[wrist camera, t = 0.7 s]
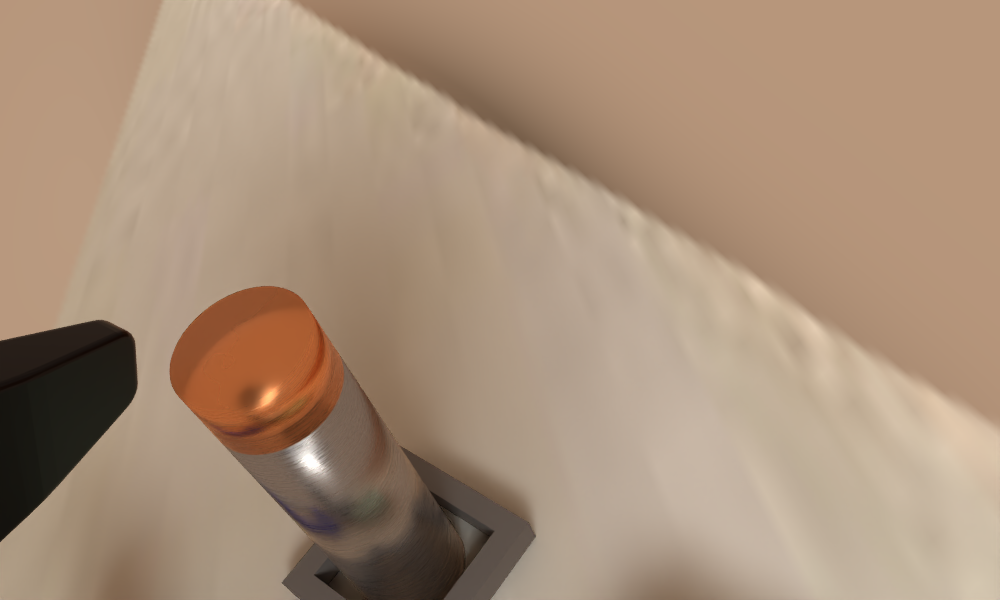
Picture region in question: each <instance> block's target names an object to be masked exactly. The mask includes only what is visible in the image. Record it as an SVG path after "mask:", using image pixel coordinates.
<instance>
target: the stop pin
mask: <svg viewBox="0 0 1000 600" xmlns="http://www.w3.org/2000/svg"><path fill="white" fill-rule="evenodd" d="M170 380H171V384H172V387H173V389H174V391H175V393H176V394H177V395H178V396H179V398H180V399H181V400H182V401H183V402H184V403H185V404H186V405H187V406H188V407H189V408H190V409H191V410H192V412H193V413H194V414H195V415H196V416H197V417H198V418H199V419H200V420H201V421H202V422H203V423H204V424H205V426H206V427H207V428H208V429H209V430H210V431H211V432H212V433H213V434H214V435H215V436H216V437H217V438H218V440H219V441H220V442H221V443H222V444H223V445H224V446H225V447H226V448H227V449H228V450H229V451H230V452H231V454H232V455H233V456H234V457H235V458H236V459H237V460H238V461H239V462H240V463H241V464H242V465H243V466H244V468H245V469H246V470H247V471H248V472H249V473H250V474H251V475H252V476H253V477H254V478H255V479H256V480H257V482H258V483H259V484H260V485H261V486H262V487H263V488H264V489H265V490H266V491H267V492H268V493H269V494H270V496H271V497H272V498H273V499H274V500H275V501H276V502H277V503H278V504H279V505H280V506H281V507H282V508H283V510H284V511H285V512H286V513H287V514H288V515H289V516H290V517H291V518H292V519H293V520H294V521H295V522H296V524H297V525H298V526H299V527H300V528H301V529H302V530H303V531H304V532H305V533H306V534H307V535H308V536H309V538H310V539H311V540H312V541H313V542H314V543H315V544H316V545H317V546H318V547H319V548H320V549H321V550H322V552H323V553H324V554H325V555H326V556H327V557H328V558H329V559H330V560H331V561H332V562H333V563H334V564H335V566H336V567H337V568H338V569H339V570H340V571H341V572H342V573H343V574H344V575H345V576H346V577H347V578H348V580H349V581H350V582H351V583H352V584H353V585H354V586H355V587H356V588H357V589H358V590H359V591H360V592H361V594H362V595H363V596H364V597H365V598H366V599H367V600H444V598H445V597H446V596H447V594H448V593H449V592H450V590H451V589H452V588H453V586H454V585H455V584H456V582H457V581H458V580H459V578H460V577H461V576H462V574H463V571H464V567H465V551H464V547H463V543H462V541H461V539H460V537H459V535H458V534H457V532H456V531H455V529H454V527H453V526H452V524H451V523H450V521H449V520H448V518H447V517H446V515H445V514H444V512H443V511H442V509H441V508H440V506H439V505H438V503H437V502H436V500H435V499H434V497H433V496H432V494H431V493H430V491H429V490H428V488H427V487H426V485H425V484H424V482H423V481H422V479H421V478H420V476H419V475H418V473H417V471H416V470H415V468H414V467H413V465H412V464H411V462H410V461H409V459H408V458H407V456H406V455H405V453H404V452H403V450H402V449H401V447H400V446H399V444H398V443H397V441H396V440H395V438H394V437H393V435H392V434H391V432H390V431H389V429H388V428H387V426H386V425H385V423H384V422H383V420H382V419H381V417H380V415H379V414H378V412H377V411H376V409H375V408H374V406H373V405H372V403H371V402H370V400H369V399H368V397H367V396H366V394H365V393H364V391H363V390H362V388H361V387H360V385H359V384H358V382H357V381H356V379H355V378H354V376H353V375H352V373H351V372H350V370H349V369H348V367H347V366H346V364H345V363H344V361H343V359H342V358H341V356H340V355H339V353H338V352H337V350H336V349H335V347H334V346H333V344H332V343H331V341H330V340H329V338H328V337H327V335H326V334H325V332H324V331H323V329H322V328H321V326H320V325H319V323H318V322H317V320H316V319H315V317H314V316H313V314H312V313H311V311H310V310H309V308H308V307H307V305H306V304H305V302H304V301H303V300H302V299H301V298H300V297H299V296H298V295H297V294H295V293H293V292H292V291H289V290H287V289H284V288H280V287H272V286H261V287H254V288H249V289H245V290H242V291H239V292H236V293H234V294H231V295H229V296H227V297H225V298H223V299H221V300H219V301H218V302H216V303H215V304H213V305H212V306H210V307H209V308H208V309H206V310H205V311H204V312H202V313H201V314H200V315H199V316H198V317H197V318H196V319H195V320H194V321H193V322H192V323H191V324H190V325H189V327H188V328H187V329H186V330H185V332H184V333H183V335H182V336H181V338H180V339H179V341H178V343H177V345H176V347H175V349H174V352H173V355H172V358H171V363H170Z"/></svg>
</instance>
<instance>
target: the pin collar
mask: <svg viewBox="0 0 1000 600" xmlns="http://www.w3.org/2000/svg"><path fill="white" fill-rule="evenodd" d="M400 447H401V446H400ZM401 449H402V450H403V452H404V453H405V455H406V456H407V458H408V459H409V461H410V462H411V464H412V465H413V467H414V468H415V470H416V471H417V473H418V475H419V476H420V478H421V479H422V481H423V482H424V484H425V485H426V487H427V488H428V490H429V491H430V493H431V494H432V496H433V497H434V499H435V500H436V502H437V503H438V504H439V505H441V506H442V507H444V508H446V509H447V510H449V511H450V512H452V513H454V514H455V515H457V516H458V517H460V518H462V519H463V520H465V521H466V522H468V523H470V524H471V525H473V526H474V527H476V528H478V529H479V530H481V531H482V532H484V533H486V534H487V535H489V536H490V538H489V539H488V540H487V542H486V543H485V545H484V546H483V547H482V549H481V550H480V551H479V553H478V554H477V555H476V557H475V558H474V559H473V561H472V562H471V563H470V565H469V566H468V567H467V569H466V570H465V572H464V573H463V574H462V576H461V577H460V578H459V580H458V581H457V582H456V584H455V585H454V586H453V588H452V589H451V590H450V592H449V593H448V594H447V596H446V597H445V598H444V600H490V599H491V598H492V596H493V595H494V594H495V592H496V591H497V589H498V588H499V587H500V585H501V584H502V583H503V581H504V580H505V578H506V577H507V576H508V574H509V573H510V571H511V570H512V569H513V567H514V566H515V564H516V563H517V562H518V560H519V559H520V557H521V556H522V555H523V553H524V552H525V551H526V549H527V548H528V546H529V545H530V544H531V542H532V541H533V539H534V538H535V537H536V536H535V534H534V532H533V530H532V528H531V526H530V524H529V522H527V521H525V520H524V519H522V518H520V517H519V516H517V515H515V514H513V513H512V512H510V511H508V510H507V509H505V508H503V507H502V506H500V505H498V504H497V503H495V502H493V501H492V500H490V499H488V498H487V497H485V496H483V495H482V494H480V493H478V492H477V491H475V490H473V489H472V488H470V487H468V486H467V485H465V484H463V483H462V482H460V481H458V480H456V479H455V478H453V477H451V476H450V475H448V474H446V473H445V472H443V471H441V470H440V469H438V468H436V467H435V466H433V465H431V464H430V463H428V462H426V461H425V460H423V459H421V458H420V457H418V456H416V455H415V454H413V453H411V452H410V451H408V450H406V449H405V448H403V447H401ZM338 571H339V569H338V568H337V567H336V566H335V564H334V563H333V562H332V561H331V560H330V559H329V558H328V557H327V556H326V555H325V554H324V553H323V552H322V550H321V549H320V548H319V547H318V546H317V545H316V544H315V543H314V544H313V546H312V547H311V548H310V549H309V550H308V552H307V553H306V554H305V555H304V556H303V558H302V559H301V560H300V561H299V563H298V564H297V565H296V566H295V567H294V569H293V570H292V571H291V572H290V573H289V575H288V576H287V577H286V578H285V579H284V581H283V582H282V584H284V585H285V586H286V587H287V588H288V589H289V590H290V591H291V592H292V593H293V594H294V595H295V596H297V597H298V598H299V599H300V600H346V599H345V598H343V597H342V596H341V595H340V594H338V593H337V592H336V591H334V590H333V589H332V588H330V587H329V586H328V584H329V582H330V581H331V580H332V579H333V577H334V576H335V575H336V574H337V572H338Z"/></svg>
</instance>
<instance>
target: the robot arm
mask: <svg viewBox="0 0 1000 600" xmlns="http://www.w3.org/2000/svg"><path fill="white" fill-rule="evenodd" d="M137 385H138V381H137V364H136V347H135V340H134V338H133V336H132V334H131V333H129V332H128V331H126V330H124V329H122V328H120V327H118V326H116V325H114V324H112V323H110V322H108V321H104V320H96V321H90V322H85V323H81V324H76V325H72V326H67V327H62V328H58V329H53V330H48V331H44V332H39V333H35V334H30V335H25V336H21V337H16V338H11V339H7V340H2V341H0V542H1V541H2V540H3V539H4V538H5V537H6V536H7V535H8V534H9V533H10V532H11V531H12V530H14V529H15V528H16V527H17V526H18V525H19V524H20V523H21V522H22V521H23V520H24V519H25V518H26V517H28V516H29V515H30V514H31V513H32V512H33V511H34V510H35V509H36V508H37V507H38V506H39V505H40V504H41V503H42V502H43V501H44V500H45V499H46V498H47V497H48V496H49V495H50V494H51V493H52V491H53V490H54V489H55V488H56V487H57V486H58V485H59V484H60V483H61V482H62V481H63V480H64V478H65V477H66V476H67V475H68V474H69V473H70V472H71V470H72V469H73V468H74V467H75V466H76V465H77V464H78V463H79V461H80V460H81V459H82V458H83V457H84V456H85V455H86V453H87V452H88V451H89V450H90V449H91V448H92V447H93V446H94V444H95V443H96V442H97V441H98V440H99V439H100V438H101V436H102V435H103V434H104V433H105V432H106V431H107V430H108V429H109V427H110V426H111V425H112V424H113V423H114V422H115V421H116V419H117V418H118V417H119V416H120V415H121V414H122V413H123V412H124V410H125V409H126V408H127V407H128V406H129V404H130V403H131V401H132V400H133V398H134V396H135V393H136V390H137Z"/></svg>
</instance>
